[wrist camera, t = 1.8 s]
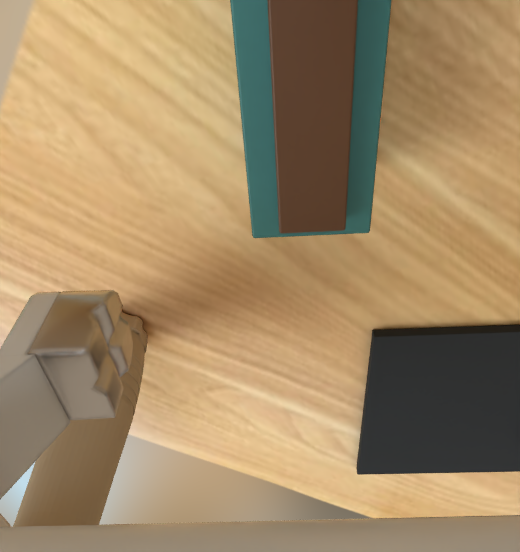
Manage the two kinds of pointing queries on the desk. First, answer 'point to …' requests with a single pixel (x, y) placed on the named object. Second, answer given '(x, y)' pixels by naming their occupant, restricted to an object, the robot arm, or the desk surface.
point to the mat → (442, 401)
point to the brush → (310, 111)
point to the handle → (84, 457)
